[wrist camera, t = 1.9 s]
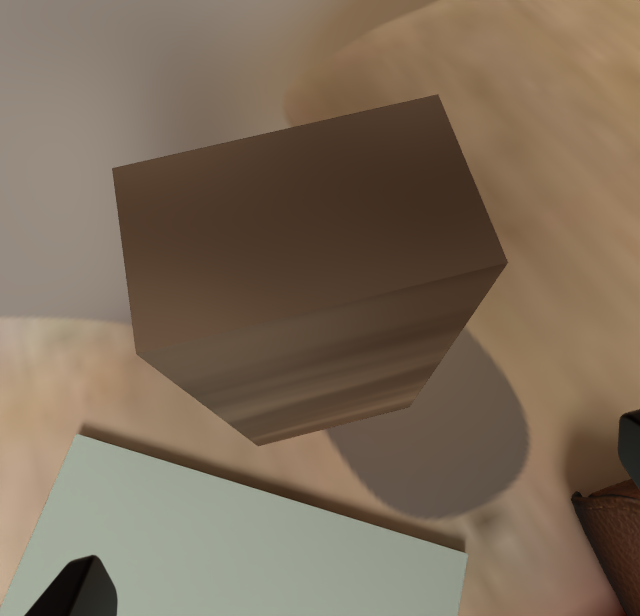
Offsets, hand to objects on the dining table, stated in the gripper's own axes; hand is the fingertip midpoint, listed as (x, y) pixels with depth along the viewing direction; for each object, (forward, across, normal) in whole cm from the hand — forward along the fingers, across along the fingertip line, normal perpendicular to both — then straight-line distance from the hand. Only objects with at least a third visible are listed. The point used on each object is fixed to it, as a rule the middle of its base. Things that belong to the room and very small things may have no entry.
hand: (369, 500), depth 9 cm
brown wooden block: (+11, 0, +5) cm, 12 cm away
